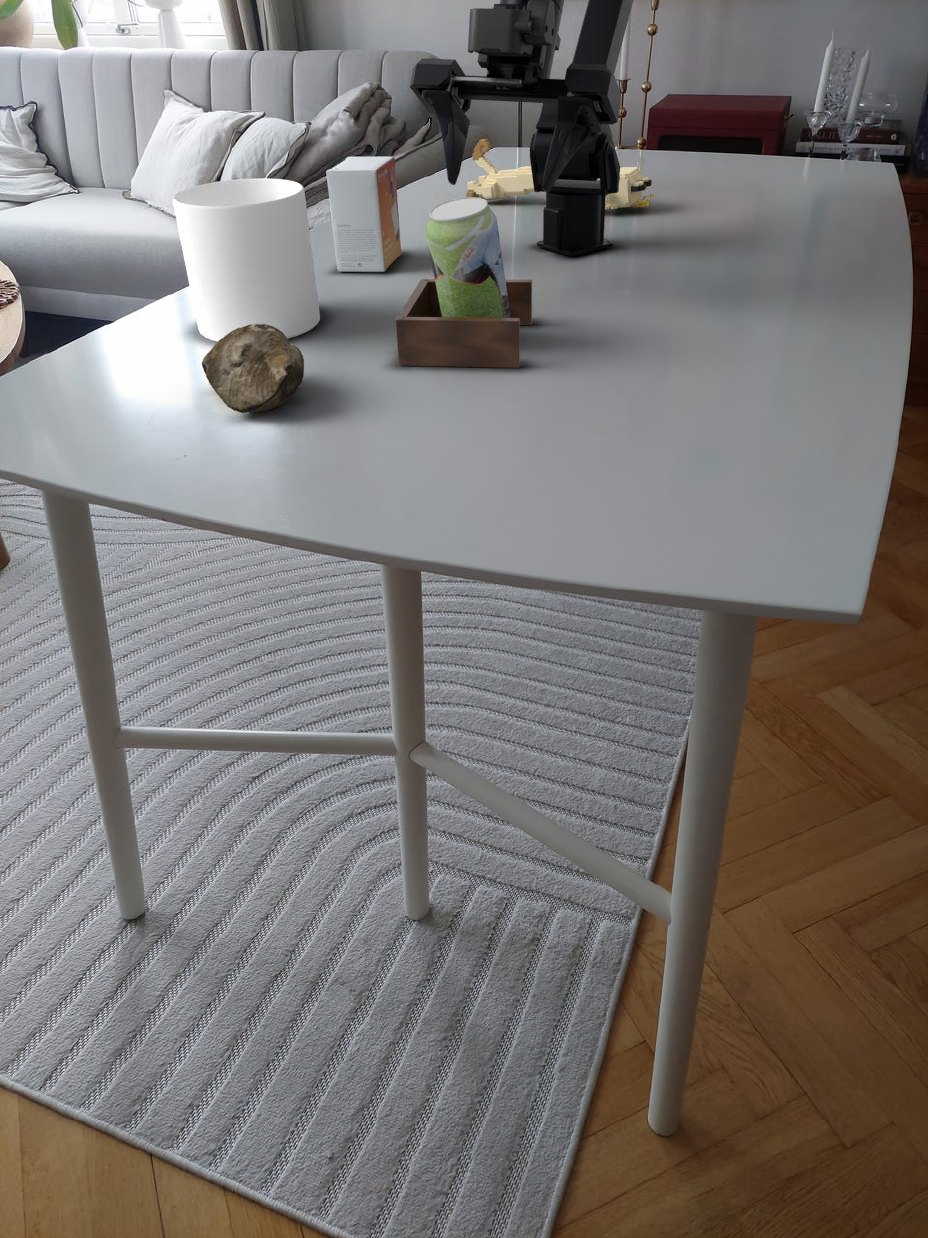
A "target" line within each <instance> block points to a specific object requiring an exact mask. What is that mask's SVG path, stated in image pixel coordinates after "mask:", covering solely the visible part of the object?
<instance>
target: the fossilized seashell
mask: <svg viewBox="0 0 928 1238" xmlns="http://www.w3.org/2000/svg"><path fill="white" fill-rule="evenodd" d="M201 366H202V367H201V368H202V369H203V373H204V374H205V377H206V379H207V382H208V384H209V385H210V386H211V388H212V389H213V391H214V392H215V394H216V395H218V397H219V398H220V399H221V400H222V402H223V403H224V405H226V406H227V407H228V408H229V409H231V410H233V411H234V412H238V413H241V414H248V413H257V412H267V411H269V410H273V409H277V408H278V407H281V406H282V405H283V404H285V403H286V402H287V401H289V400H291V398H293V396H294V395H295V394H296V393H297V391H298V390H299V387H300V386H301V384H302V383H303V379H304V377H305V376H304V375H305V358H304V355H303V353H302V351H301V350H300V349H299V347H298V346H296V345H293V344H292V343H290V341H289V339H287V337H286V336H285V335H284V333H283V332H281V331H280V330H279V329H277V328H275V327H273V326H271V325H266V324H250V325H247V326H244V327H241V328H237V329H235V330H233V331H231V332H230V333H229V334H227V335H226V336H224V337H223V338H222V339H220V340H219V341H218V342H215V344H214V345H213V346H212V348H211V349H210V350H209V351H208V352H207V353H206V354H205V355H204V357H203V358H202V361H201Z"/></svg>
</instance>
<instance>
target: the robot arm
mask: <svg viewBox="0 0 928 1238" xmlns="http://www.w3.org/2000/svg"><path fill="white" fill-rule="evenodd" d="M633 4H634V0H588V1H587V5H586V8H585V12H584V17H583V20H582V23H581V27H580V31H579V35H578V39H577V43H576V47H575V50H574V53H573V57H572V61H571V63H570V64H569V65H568V67H567V68H566V70H565V76H564V78H551V72H552V68H553V63H554V57H555V53H556V52H555V51H557V52H558V51H559V50H560V47H561V40H562V38H561V37H560V34H559V31H560V26H561V20H562V15H563V11H564V5H565V0H499V3H494V4H493V7H492V8H489V7H487V8H486V7H485V8H484V7H483V8H482V7H481V8H480V7H479V8H478V7H476V8H475V7H474V8H470V9H469V20H468V21H469V23H468V39H467V53H468V54H473V53H476V54H478V55H477V61H476V62H477V63H478V65H479V67H480V68H481V69H486V75H466V74H465V72H464V71H463V69H462V67H461V66H460V64H459V63H458V61H457V59H451V58H450V59H448V58H423V57H422V58H421V59H420V60H418V61H417V63H416V64H415V65H414V66H413V68H412V71H411V77H410V82H409V88H410V90H411V91H412V92H413V94H414V95H415V96H416V98H418V100H419V101H420V102H421V104H422V105H423V106H424V107H425V109H426V111H427V112H428V113H430V114H433V115H434V117H435V118H436V120H437V121H438V125H439V128H440V133H441V138H442V139H441V140H442V146H443V155H444V161H445V170H446V177H447V181H448V183H449V184H450V185H452V186H455V185H456V184H457V182H458V179H459V176H460V173H461V168H462V163H463V158H464V153H465V148H466V143H467V139H468V133H469V128H470V123H471V120H470V119H469V117H468V116H467V114H466V112H468V111H469V110H470V109H471V104H472V101H489V102H511V103H532V104H533V103H534V104H542V105H541V110H540V115H539V118H538V121H537V122H536V125H535V130H536V131H535V132H534V133H533V135H532V137H531V139H530V145H529V161H530V166H531V170H532V178H533V185H534V192H537V193H545V206H544V207H543V211H542V212H543V213H542V214H543V216H542V217H543V218H542V221H543V222H542V224H543V225H542V239H541V240H538V241H536V247H538V248H542V249H545V250H548V251H551V252H554V253H558V254H561V255H563V256H564V255H565V256H568V257H576V256H580V255H585V254H589V253H592V252H593V253H594V252H597V251H599V250H604V249H609V248H612V247H613V246H614V242H613V241H611V240H608V239H605V222H606V209H605V201H606V196H607V195H608V194H612V193H617V192H619V181H620V168H621V164H620V160H619V157H618V153H617V149H616V146H615V143H614V139H613V137H614V135H613V132H612V128H611V125H613V126H614V125H615V124H617V123H618V121H619V116H620V111H621V106H622V92H621V89H620V87H619V85H618V82H617V78H616V76H615V72H616V68H617V64H618V61H619V58H620V57H619V56H620V54H621V49H622V46H623V41H624V38H625V34H626V31H627V27H628V23H629V20H630V15H631V11H632V7H633ZM598 178H600V180H597V179H598Z"/></svg>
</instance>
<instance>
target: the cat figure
mask: <svg viewBox="0 0 928 1238" xmlns="http://www.w3.org/2000/svg"><path fill="white" fill-rule="evenodd" d="M491 149H492V145H491V140H489V138H482V139H479V140H478V142H477V144H475V147H473V152H472V153H471V156H472V161H474V163H475V164H477V165H476V166H479V168H483V170H484V171H485V173H487V175H480V176H478V182H477V180H470V181H468V182H466V187H467V192H466V193H465V196H466V197H465V198H468V197H476V198H482V199H484V200H491V199H492V200H493V199H494V200H496V199H507V198H509V197H511V196H512V197H513V196H515V197H516V196H517V197H519V196H528V195H529V194H532V193H533V194H535V193H538V192H534V185H533V178H532V170H531V165H525V166H520V167H518V168H514V169H513V168H512V169H501V170H498V168H497V167H495V165H493V163H491V160H489V159H488V158H487V157H486V156H485V155H486V153H488V152H490V150H491ZM642 172H643V171H642V170H641V169H639V167H638V166H625V167H624V166H623V167H620V181H619V192H617V193H612V194H608V195H607V196H606V201H605V210H618V209H619V208H629V207H632V208H644V207H648V206H649V205H650V200H651V199H652V197H655V196H656V193H654V192H653V193H649V195H644V196H642V194H643V191H645V190H647V188H648V187H652V183H653V182H652V179H650V177H649V176H643V175H642ZM597 180H600V178H598V179H597Z"/></svg>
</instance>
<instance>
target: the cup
mask: <svg viewBox="0 0 928 1238" xmlns="http://www.w3.org/2000/svg"><path fill="white" fill-rule="evenodd" d="M172 204H173V209H174V210H173V211H174V214H175V221H176V226H177V229H178V230H177V231H178V235H179V240H180V244H181V250H182V255H183V259H184V265H185V270H186V275H187V280H188V285H189V290H190V294H191V301H192V305H193V310H194V314H195V315H194V316H195V320H196V323H197V329H198V332H199V333H200V335H201V336H203V337H204V338H206V339H208V340H210V341H213V342H215V343H217V342H218V341H219V340H220V339H222V338H223V337H224V336H226V335H227V334H229V333H230V332H231V331H233V330H235V329H237V328H241V327H244V326H247V325H250V324H266V325H271V326H273V327H275V328H277V329H279V330H280V331H281V332H283V333H284V335H285V336H286V337H287V339H288V340H289V339H293V338H295V337H298V336H302V335H303V334H305V333H307V332H310V331H311V330H313V329H314V328H315V327H316V326H317V325H318V324H319V323H320V320H321V314H320V312H321V311H320V304H319V297H318V289H317V288H318V287H317V281H316V272H315V264H314V256H313V249H312V248H313V247H312V241H311V240H312V239H311V233H310V225H309V224H310V223H309V216H308V208H307V201H306V193H305V187H304V186H303V184H301V183H299V182H296V181H293V180H288V179H283V178H282V179H281V178H260V177H259V178H258V177H257V178H239V179H228V180H221V181H214V182H208V183H202V184H198V185H194V186H191V187H187V188H185V189H183V190H180V191H179V192H177V193H175V194H174V196H173V199H172Z"/></svg>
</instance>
